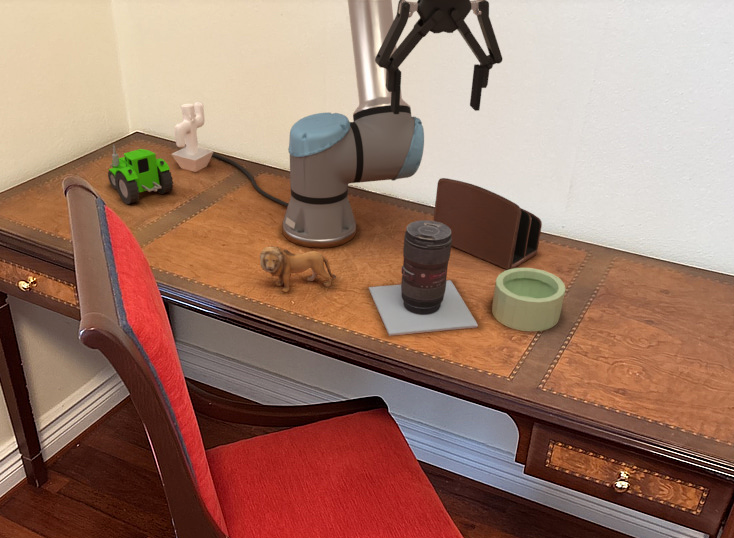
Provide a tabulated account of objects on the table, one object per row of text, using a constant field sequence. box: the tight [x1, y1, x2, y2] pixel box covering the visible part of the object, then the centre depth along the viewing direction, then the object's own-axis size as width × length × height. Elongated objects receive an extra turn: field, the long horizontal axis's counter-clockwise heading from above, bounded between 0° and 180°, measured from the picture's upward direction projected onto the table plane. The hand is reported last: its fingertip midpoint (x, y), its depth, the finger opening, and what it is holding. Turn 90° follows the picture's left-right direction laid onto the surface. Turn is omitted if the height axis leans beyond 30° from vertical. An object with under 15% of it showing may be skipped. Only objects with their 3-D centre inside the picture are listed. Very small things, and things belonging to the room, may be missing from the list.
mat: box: [368, 279, 479, 337], centre depth 144 cm, size 16×16×1 cm
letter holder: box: [432, 177, 543, 271], centre depth 160 cm, size 10×20×14 cm, turn 47°
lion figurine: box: [259, 245, 337, 293], centre depth 147 cm, size 15×5×9 cm, turn 114°
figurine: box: [170, 101, 215, 173], centre depth 188 cm, size 7×9×15 cm
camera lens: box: [400, 219, 452, 315], centre depth 139 cm, size 8×8×15 cm
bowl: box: [491, 267, 567, 332], centre depth 142 cm, size 12×12×6 cm
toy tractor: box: [107, 143, 174, 205], centre depth 178 cm, size 11×16×10 cm
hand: (434, 110), depth 131 cm, fingers open, 13 cm apart
